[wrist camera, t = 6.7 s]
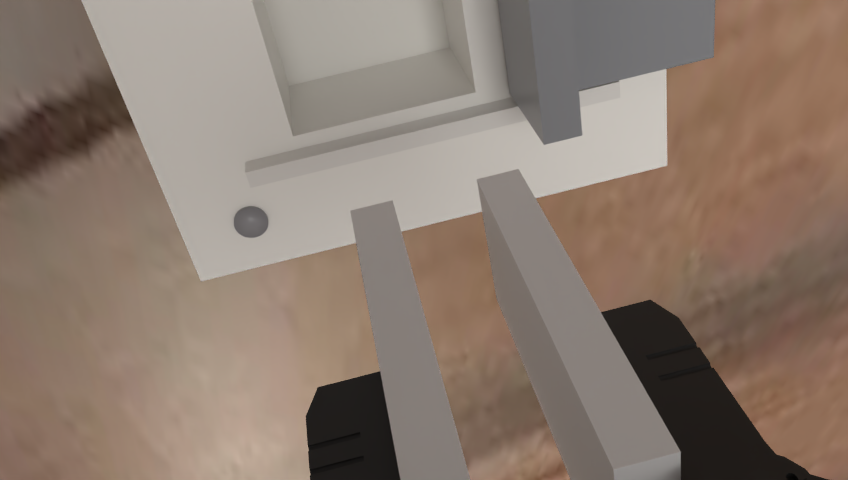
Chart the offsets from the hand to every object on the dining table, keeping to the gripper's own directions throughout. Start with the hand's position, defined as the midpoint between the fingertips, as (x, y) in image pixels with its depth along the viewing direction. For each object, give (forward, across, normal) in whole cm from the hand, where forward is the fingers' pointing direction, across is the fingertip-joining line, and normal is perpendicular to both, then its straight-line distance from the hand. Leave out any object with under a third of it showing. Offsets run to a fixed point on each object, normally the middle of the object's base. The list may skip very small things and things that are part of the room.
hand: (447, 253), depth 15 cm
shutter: (+13, +8, 0) cm, 15 cm away
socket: (+18, 0, 0) cm, 18 cm away
